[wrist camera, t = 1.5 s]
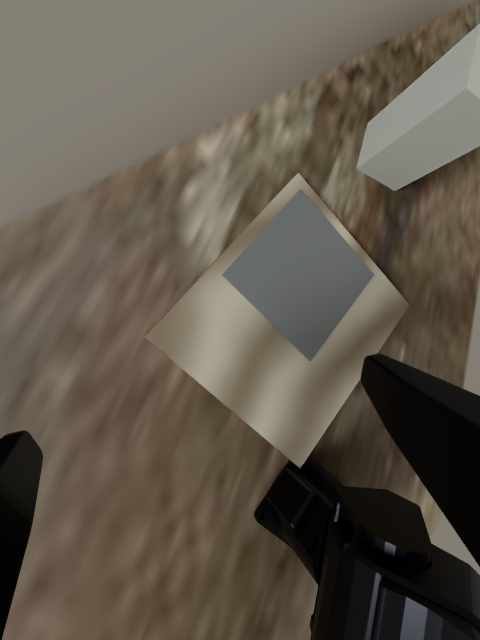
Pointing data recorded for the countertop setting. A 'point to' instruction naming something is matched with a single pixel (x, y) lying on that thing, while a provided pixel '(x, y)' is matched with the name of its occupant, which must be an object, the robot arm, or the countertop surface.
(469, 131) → the grey post
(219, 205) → the countertop surface
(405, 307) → the board
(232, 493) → the countertop surface
